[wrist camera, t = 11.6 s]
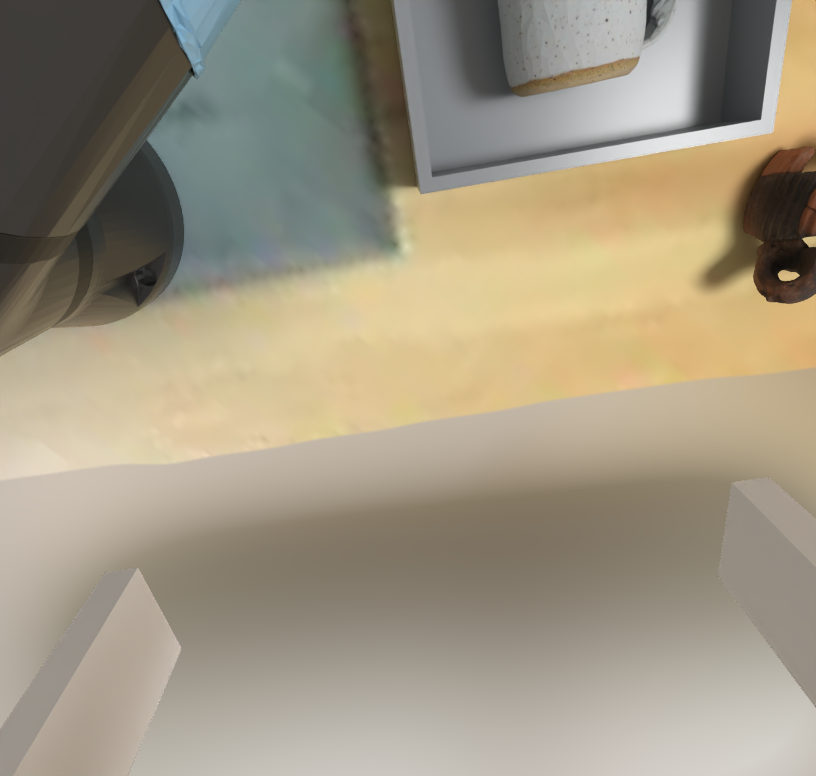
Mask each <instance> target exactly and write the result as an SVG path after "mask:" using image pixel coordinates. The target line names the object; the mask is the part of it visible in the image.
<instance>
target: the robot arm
mask: <svg viewBox="0 0 816 776" xmlns="http://www.w3.org/2000/svg"><path fill="white" fill-rule="evenodd" d="M240 1H241V0H0V356H1V355H3V354H5V353H7V352H8V351H10V350H12V349H14V348H16V347H17V346H19V345H21V344H23V343H25V342H26V341H28V340H30V339H32V338H34V337H35V336H37V335H39V334H41V333H42V332H44V331H46V330H48V329H50V328H59V327H82V326H96V325H103V324H107V323H111V322H114V321H118V320H120V319H123V318H125V317H127V316H130V315H132V314H133V313H135V312H137V311H138V310H140V309H141V308H143V307H144V306H146V305H147V304H149V303H150V302H152V301H153V300H154V299H155V298H157V297H158V296H159V295H160V294H161V293H162V292H163V291H164V290H165V288H166V287H167V286H168V284H169V283H170V281H171V280H172V278H173V276H174V274H175V272H176V270H177V268H178V265H179V262H180V259H181V255H182V250H183V242H184V224H183V216H182V210H181V205H180V201H179V198H178V195H177V192H176V189H175V186H174V184H173V181H172V179H171V177H170V175H169V173H168V171H167V169H166V167H165V166H164V164H163V162H162V161H161V159H160V157H159V156H158V155H157V153H156V152H155V150H154V149H153V148H152V146H151V145H150V144H149V143H148V141H147V140H146V139H147V138H148V137H149V135H150V134H151V132H152V131H153V130H154V128H155V127H156V126H157V124H158V123H159V121H160V120H161V119H162V117H163V116H164V114H165V113H166V112H167V110H168V109H169V107H170V106H171V105H172V103H173V102H174V100H175V99H176V98H177V96H178V95H179V93H180V92H181V91H182V89H183V88H184V87H185V85H186V84H187V82H188V81H189V80H190V78H191V77H192V75H193V76H194V77H195V78H196V79H198V78H199V77H200V75H201V74H202V73H203V71H204V68H205V64H204V58H205V56H206V55H207V53H208V52H209V50H210V49H211V47H212V45H213V44H214V42H215V41H216V39H217V38H218V36H219V35H220V33H221V31H222V30H223V28H224V27H225V25H226V24H227V22H228V21H229V19H230V17H231V16H232V14H233V13H234V11H235V10H236V8H237V7H238V5H239V3H240ZM718 577H719V578H720V580H721V581H722V582H723V584H724V585H725V586H726V588H727V589H728V591H729V592H730V593H731V594H732V596H733V597H734V598H735V600H736V601H737V603H738V604H739V605H740V607H741V608H742V609H743V611H744V612H745V613H746V615H747V616H748V617H749V619H750V620H751V621H752V623H753V624H754V625H755V627H756V628H757V629H758V631H759V632H760V633H761V635H762V636H763V637H764V639H765V640H766V642H767V643H768V644H769V645H770V647H771V648H772V650H773V651H774V652H775V654H776V655H777V656H778V658H779V659H780V660H781V662H782V663H783V664H784V665H785V667H786V668H787V670H788V671H789V672H790V674H791V675H792V676H793V678H794V679H795V680H796V682H797V683H798V684H799V686H800V687H801V688H802V690H803V691H804V693H805V694H806V695H807V697H808V698H809V699H810V700H811V702H812V703H813V704H814V706H815V707H816V519H815V518H814V517H813V516H811V515H810V514H809V513H808V512H807V511H806V510H805V509H804V508H803V507H801V506H800V505H799V504H798V503H797V502H796V501H795V500H793V499H792V498H791V497H790V496H789V495H788V494H787V493H786V492H785V491H784V490H782V489H781V488H780V487H779V486H778V485H777V484H776V483H774V482H773V481H772V480H771V479H770V478H769V477H767V478H760V479H753V480H746V481H739V482H732V486H731V493H730V499H729V506H728V512H727V519H726V525H725V532H724V538H723V545H722V552H721V558H720V565H719V572H718ZM180 651H181V647H180V645H179V643H178V641H177V639H176V637H175V636H174V634H173V632H172V630H171V628H170V626H169V624H168V623H167V621H166V619H165V617H164V615H163V613H162V611H161V610H160V608H159V606H158V604H157V602H156V600H155V599H154V597H153V595H152V593H151V591H150V589H149V587H148V586H147V584H146V582H145V580H144V578H143V576H142V574H141V573H140V571H139V569H138V568H132V569H124V570H117V571H110V572H105V573H104V575H103V576H102V578H101V579H100V581H99V582H98V584H97V585H96V587H95V588H94V590H93V591H92V593H91V594H90V596H89V597H88V599H87V600H86V602H85V603H84V605H83V606H82V608H81V609H80V611H79V612H78V614H77V615H76V617H75V618H74V620H73V621H72V623H71V624H70V626H69V627H68V629H67V630H66V632H65V633H64V635H63V636H62V638H61V639H60V640H59V642H58V643H57V645H56V647H55V648H54V649H53V651H52V653H51V654H50V656H49V657H48V658H47V660H46V661H45V663H44V665H43V666H42V667H41V669H40V670H39V672H38V674H37V675H36V676H35V678H34V679H33V681H32V683H31V684H30V686H29V687H28V688H27V690H26V692H25V693H24V694H23V696H22V697H21V699H20V700H19V702H18V703H17V705H16V706H15V708H14V709H13V711H12V712H11V714H10V715H9V717H8V718H7V720H6V721H5V723H4V724H3V726H2V727H1V729H0V776H128V775H129V773H130V770H131V768H132V765H133V763H134V761H135V758H136V756H137V754H138V751H139V749H140V746H141V744H142V742H143V739H144V737H145V735H146V732H147V730H148V727H149V725H150V722H151V720H152V718H153V715H154V713H155V711H156V708H157V706H158V703H159V701H160V698H161V696H162V694H163V691H164V689H165V687H166V684H167V682H168V679H169V677H170V675H171V672H172V670H173V667H174V665H175V663H176V660H177V658H178V656H179V653H180Z"/></svg>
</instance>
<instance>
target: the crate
mask: <svg viewBox="0 0 816 776" xmlns="http://www.w3.org/2000/svg"><path fill="white" fill-rule="evenodd" d="M791 3H792V0H678V2H677V6H676V9H675V13H674V16H673V18H672V20H671V22H670V24H669V26H668V28H667V29H666V31H665V32H664V34H663V36H662V37H661V38H660V39H659V40H657V41H656V42H655V43H654V44H652V45H651V46H650V47H647V48H645V49H643V50H641V54H640V58H639V62H638V64H637V65H636V67H635V68H634V69H633V70H632V71H631V72H630V73H629V74H628V75H625V76H621V77H616V78H612V79H607V80H603V81H599V82H595V83H591V84H586V85H581V86H576V87H570V88H566V89H561V90H556V91H551V92H547V93H542V94H537V95H531V96H526V97H519V96H517V95H516V94H515V93H514V92H513V91H512V90H511V88H510V86H509V83H508V79H507V75H506V70H505V66H504V59H503V48H502V37H501V25H500V16H499V8H498V0H391V6H392V13H393V20H394V27H395V34H396V41H397V48H398V55H399V62H400V69H401V76H402V83H403V90H404V97H405V104H406V111H407V118H408V125H409V132H410V139H411V146H412V153H413V160H414V167H415V174H416V181H417V188H418V190H419V192H420V193H421V194H425V193H430V192H436V191H442V190H448V189H453V188H459V187H465V186H471V185H476V184H482V183H488V182H493V181H499V180H505V179H511V178H516V177H522V176H528V175H534V174H539V173H545V172H551V171H557V170H562V169H568V168H574V167H579V166H585V165H591V164H597V163H602V162H608V161H614V160H620V159H625V158H631V157H637V156H643V155H648V154H654V153H660V152H665V151H671V150H677V149H683V148H688V147H694V146H700V145H706V144H711V143H717V142H723V141H729V140H734V139H740V138H746V137H751V136H757V135H763V134H769V133H773V130H774V123H775V116H776V109H777V102H778V95H779V88H780V80H781V73H782V66H783V59H784V52H785V45H786V38H787V31H788V24H789V17H790V10H791ZM652 5H653V0H647V8H646V27H647V25H648V23H649V21H650V11H651V8H652ZM646 27H645V29H646Z"/></svg>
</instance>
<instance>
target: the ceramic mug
mask: <svg viewBox="0 0 816 776" xmlns="http://www.w3.org/2000/svg"><path fill="white" fill-rule="evenodd" d="M677 2H678V0H653V5H652V8H651V11H650V21H649V23H648V25H647V27H646V8H647V0H498V8H499V16H500V25H501V37H502V48H503V59H504V66H505V70H506V75H507V79H508V83H509V86H510V88H511V90H512V91H513V92H514V93H515V94H516V95H517V96H519V97H526V96H531V95H537V94H542V93H547V92H551V91H556V90H561V89H566V88H570V87H576V86H581V85H586V84H591V83H595V82H599V81H603V80H607V79H612V78H616V77H621V76H625V75H628V74H629V73H630V72H631V71H632V70H633V69H634V68H635V67H636V65H637V64H638V62H639V58H640V54H641V50H643V49H645V48H647V47H650V46H651V45H652V44H654V43H655V42H656V41H657V40H659V39H660V38H661V37H662V36H663V34H664V32H665V31H666V29H667V28H668V26H669V24H670V22H671V20H672V18H673V16H674V13H675V9H676V6H677ZM645 27H646V29H645Z"/></svg>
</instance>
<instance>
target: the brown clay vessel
mask: <svg viewBox="0 0 816 776" xmlns="http://www.w3.org/2000/svg"><path fill="white" fill-rule="evenodd" d="M814 154H815V151H814V149H813V148H812V147H803V148H798V149H790V150H781V151H779V152H778V153H777V154H776V155H775V156H774V157H773V158H772V159H771V161H770V162H769V163H768V165H767V166H766V168H765V170H764V171H763V173H762V175H761V177H760V178H759V179H758V181H757V184H756V186H755V188H754V190H753V191H752V192H751V195H750V199H749V201H748V204H747V206H746V210H745V218H744V232H745V233H747V234H750V235H753V236H755V238H757V239H759V240H761V241H762V242H764V243H763V244H762V245H760V246H759V247H758V248H757V254H758V259H757V262H756V265H755V270H754V275H753V278H754V283H755V285H756V287H757V290H758V291H759V293H760V294H761V295H763V296H764V297H765V298H766V300H767V301H768V302H778V303H786V304H792V303H797V302H801V301H804V300H806V299H808V298H810V297H812V296H813V295H814V294H816V247H810V248H809V247H808V245H807V244H806V243H805V242H804V241H803V240H802V238H804V237H811V236H816V171H814V172H804V173H802V171H803V169H804V167H805V165H806V164H807V162H808V161H809V160H810V158H811V157H812V156H813V155H814ZM781 270H787V271H790V272H797V273H798V274H799V275H800V276H799V277H798V278H796V279H794V280H791V281H781V280H780V279H779V277H778V273H779V272H780V271H781Z"/></svg>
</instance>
